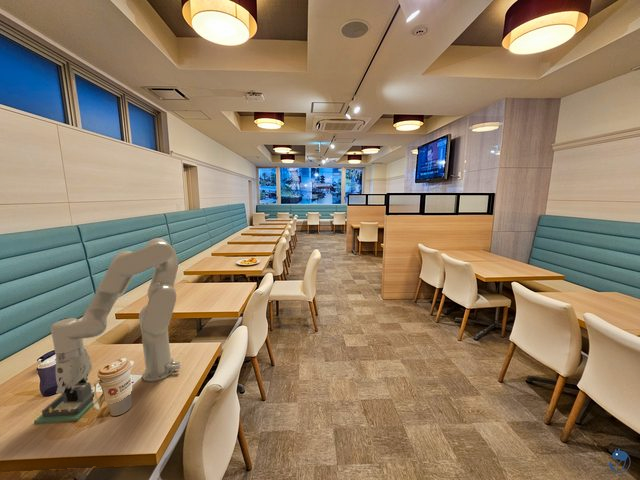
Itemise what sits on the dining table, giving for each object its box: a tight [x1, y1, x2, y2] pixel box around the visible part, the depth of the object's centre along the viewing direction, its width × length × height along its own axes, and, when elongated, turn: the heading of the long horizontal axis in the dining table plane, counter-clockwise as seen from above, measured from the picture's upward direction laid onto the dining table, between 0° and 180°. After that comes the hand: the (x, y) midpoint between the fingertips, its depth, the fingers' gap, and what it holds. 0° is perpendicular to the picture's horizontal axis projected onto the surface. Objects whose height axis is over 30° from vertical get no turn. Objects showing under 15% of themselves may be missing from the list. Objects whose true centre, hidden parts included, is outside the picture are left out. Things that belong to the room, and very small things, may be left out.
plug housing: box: [61, 381, 92, 403], centre depth 98 cm, size 7×4×5 cm, turn 94°
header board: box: [33, 388, 94, 424], centre depth 96 cm, size 14×14×4 cm
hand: (77, 395), depth 98 cm, fingers closed on plug housing, 4 cm apart
